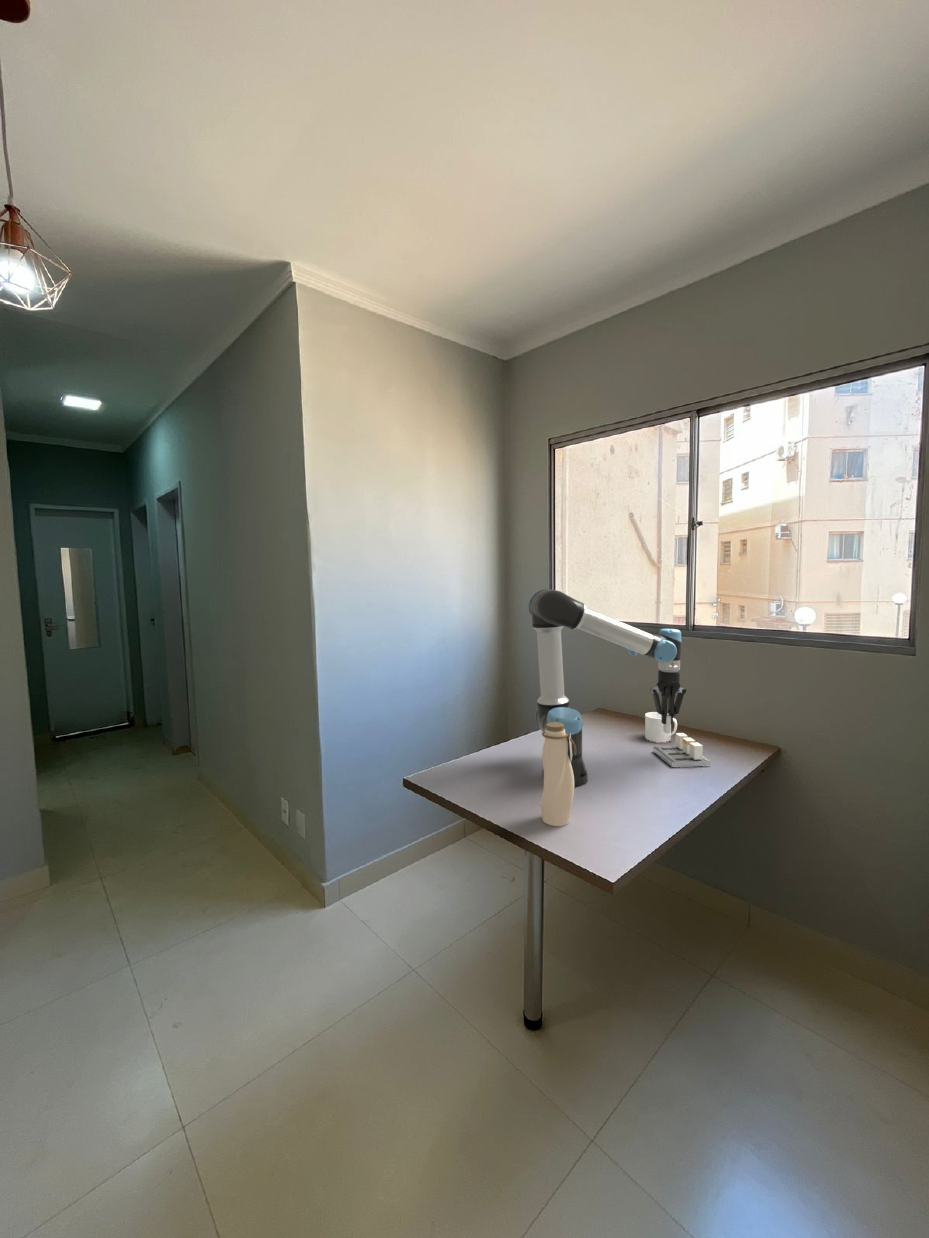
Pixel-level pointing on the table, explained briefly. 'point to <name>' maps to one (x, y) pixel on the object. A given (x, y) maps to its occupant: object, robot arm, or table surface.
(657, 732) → the mug
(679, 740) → the block
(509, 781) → the table surface
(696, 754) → the breaker low
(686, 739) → the block
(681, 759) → the panel
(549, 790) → the water bottle
